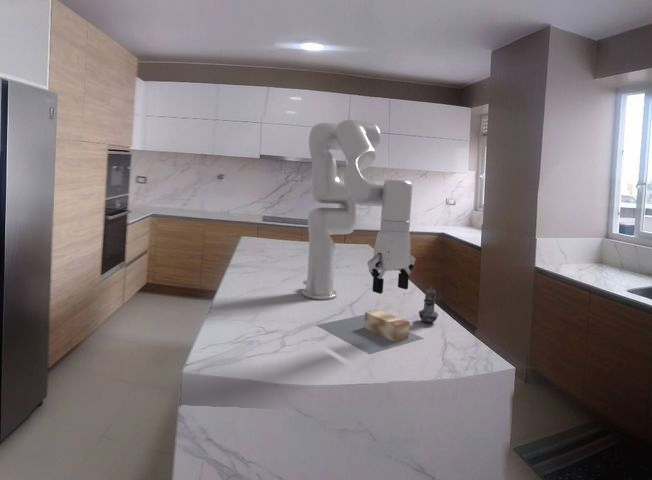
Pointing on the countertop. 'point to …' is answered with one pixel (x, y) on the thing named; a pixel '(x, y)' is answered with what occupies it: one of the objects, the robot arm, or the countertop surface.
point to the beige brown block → (387, 325)
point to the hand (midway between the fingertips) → (390, 290)
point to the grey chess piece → (429, 307)
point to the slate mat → (363, 335)
